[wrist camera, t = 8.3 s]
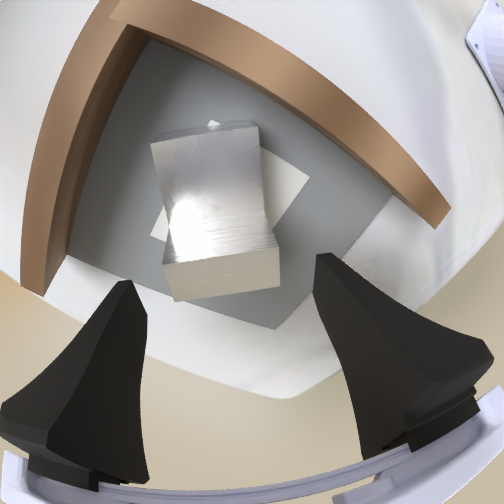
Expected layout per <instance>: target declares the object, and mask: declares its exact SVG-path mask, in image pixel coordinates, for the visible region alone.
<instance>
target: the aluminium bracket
mask: <svg viewBox="0 0 504 504" xmlns="http://www.w3.org/2000/svg"><path fill="white" fill-rule="evenodd" d="M150 146H151V150H152V155H153V160H154V165H155V169H156V174H157V178H158V182H159V187H160V191H161V195H162V199H163V203H164V207H165V211H166V215H167V219H168V223H169V230H168V235H167V240H166V245H165V249H164V255H163V260H162V268H163V271H164V274H165V277H166V280H167V282H168V285H169V288H170V291H171V293H172V296H173V299H174V301H175V302H179V301H186V300H194V299H201V298H208V297H215V296H222V295H228V294H235V293H241V292H248V291H254V290H260V289H266V288H272V287H278V286H280V265H279V246H278V244H277V241H276V239H275V236H274V234H273V231H272V229H271V226H270V224H269V221H268V219H267V216H266V214H265V211H264V197H263V183H262V170H261V157H260V144H259V132H258V126H257V125H256V124H255V123H254V122H252V121H251V120H250V121H240V122H232V123H224V124H217V125H210V126H204V127H197V128H192V129H186V130H180V131H175V132H170V133H165V134H161V135H158V136H157V137H156V138H155V139H154V140H153V141H152V142H151V144H150Z"/></svg>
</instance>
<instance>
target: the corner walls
mask: <svg viewBox="0 0 504 504" xmlns="http://www.w3.org/2000/svg"><path fill="white" fill-rule="evenodd" d="M150 39H152V40H154V41H157V42H160V43H162V44H164V45H167V46H169V47H172V48H174V49H176V50H179V51H181V52H183V53H185V54H188V55H190V56H192V57H194V58H196V59H198V60H200V61H203V62H205V63H207V64H209V65H211V66H213V67H215V68H217V69H218V70H220V71H222V72H224V73H226V74H228V75H230V76H232V77H234V78H235V79H237V80H239V81H241V82H243V83H244V84H246V85H248V86H250V87H251V88H253V89H255V90H256V91H258V92H260V93H261V94H263V95H265V96H266V97H268V98H270V99H271V100H273V101H274V102H276V103H277V104H279V105H281V106H282V107H284V108H285V109H287V110H288V111H290V112H291V113H293V114H294V115H296V116H297V117H299V118H300V119H302V120H303V121H304V122H306V123H307V124H309V125H310V126H312V127H313V128H314V129H316V130H317V131H319V132H320V133H321V134H323V135H324V136H325V137H327V138H328V139H329V140H331V141H332V142H333V143H335V144H336V145H337V146H338V147H340V148H341V149H342V150H344V151H345V152H346V153H347V154H349V155H350V156H351V157H352V158H353V159H355V160H356V161H357V162H358V163H360V164H361V165H362V166H363V167H364V168H365V169H367V170H368V171H369V172H370V173H371V174H372V175H374V176H375V177H376V178H377V179H378V180H379V181H380V182H381V183H383V184H384V185H385V186H386V187H387V188H388V189H389V190H390V191H391V192H392V193H393V194H394V195H395V196H396V197H398V198H399V199H400V200H401V201H403V202H404V203H405V204H406V205H407V206H409V207H410V208H411V209H412V210H413V211H415V212H416V213H417V214H418V215H419V216H420V217H422V218H423V219H424V220H425V221H426V222H427V223H428V224H430V225H431V226H432V227H433V228H434V229H436V228H437V226H438V225H439V224H440V223H441V221H442V220H443V219H444V217H445V216H446V215H447V213H448V212H449V210H450V209H451V206H450V205H449V204H448V202H447V201H446V200H445V198H444V197H443V196H442V194H441V193H440V192H439V190H438V189H437V188H436V186H435V185H434V184H433V183H432V181H431V180H430V179H429V178H428V176H427V175H426V174H425V173H424V172H423V170H422V169H421V168H420V167H419V166H418V165H417V163H416V162H415V161H414V160H413V159H412V158H411V157H410V155H409V154H408V153H407V152H406V151H405V150H404V149H403V148H402V147H401V146H400V145H399V144H398V142H397V141H396V140H395V139H394V138H393V137H392V136H391V135H390V134H389V133H388V132H387V131H386V130H385V129H384V128H383V127H382V126H381V125H380V124H379V123H378V122H377V121H376V120H375V119H373V118H372V117H371V116H370V115H369V114H368V113H367V112H366V111H365V110H364V109H363V108H362V107H360V106H359V105H358V104H357V103H356V102H355V101H354V100H352V99H351V98H350V97H349V96H348V95H347V94H345V93H344V92H343V91H342V90H341V89H339V88H338V87H337V86H336V85H334V84H333V83H332V82H331V81H329V80H328V79H327V78H325V77H324V76H323V75H321V74H320V73H319V72H317V71H316V70H315V69H313V68H312V67H311V66H309V65H308V64H306V63H305V62H304V61H302V60H301V59H299V58H298V57H296V56H295V55H293V54H292V53H290V52H289V51H287V50H286V49H284V48H283V47H281V46H280V45H278V44H276V43H275V42H273V41H271V40H270V39H268V38H266V37H265V36H263V35H261V34H260V33H258V32H256V31H254V30H252V29H251V28H249V27H247V26H245V25H243V24H241V23H239V22H238V21H236V20H234V19H232V18H230V17H228V16H226V15H223V14H221V13H219V12H217V11H215V10H213V9H211V8H208V7H206V6H204V5H201V4H199V3H197V2H194V1H192V0H100V1H99V3H98V4H97V6H96V7H95V9H94V10H93V12H92V14H91V15H90V17H89V19H88V20H87V22H86V24H85V25H84V27H83V29H82V31H81V33H80V34H79V36H78V38H77V40H76V42H75V44H74V46H73V48H72V50H71V52H70V54H69V56H68V58H67V60H66V62H65V64H64V67H63V69H62V71H61V73H60V76H59V78H58V81H57V83H56V86H55V88H54V91H53V93H52V96H51V99H50V101H49V104H48V107H47V110H46V113H45V116H44V119H43V123H42V126H41V129H40V133H39V136H38V140H37V144H36V148H35V152H34V156H33V161H32V165H31V170H30V175H29V180H28V186H27V192H26V199H25V206H24V215H23V225H22V237H21V260H20V282H21V286H22V287H24V288H26V289H28V290H30V291H32V292H34V293H36V294H38V295H40V296H42V297H44V295H45V293H46V291H47V289H48V287H49V285H50V283H51V282H52V280H53V278H54V276H55V274H56V272H57V271H58V269H59V267H60V265H61V264H62V262H63V260H64V259H65V257H66V255H67V252H68V247H69V242H70V237H71V233H72V228H73V224H74V220H75V216H76V212H77V208H78V204H79V200H80V197H81V193H82V190H83V187H84V183H85V180H86V177H87V174H88V171H89V168H90V165H91V162H92V159H93V156H94V153H95V151H96V148H97V145H98V143H99V140H100V138H101V135H102V133H103V130H104V128H105V125H106V123H107V121H108V118H109V116H110V114H111V111H112V109H113V107H114V105H115V103H116V101H117V99H118V96H119V94H120V92H121V90H122V88H123V86H124V84H125V82H126V81H127V79H128V77H129V75H130V73H131V71H132V69H133V68H134V66H135V64H136V62H137V60H138V59H139V57H140V55H141V54H142V52H143V50H144V49H145V47H146V45H147V44H148V42H149V41H150Z"/></svg>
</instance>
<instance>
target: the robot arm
mask: <svg viewBox="0 0 504 504" xmlns="http://www.w3.org/2000/svg"><path fill="white" fill-rule="evenodd" d="M466 42H467V44H468V46H469V47H470V49H471V50H472V52H473V53H474V55H475V57H476V58H477V60H478V62H479V63H480V65H481V67H482V68H483V70H484V72H485V74H486V76H487V77H488V79H489V81H490V83H491V85H492V87H493V89H494V91H495V93H496V95H497V97H498V99H499V101H500V104H501V106H502V108H503V110H504V11H503V10H502V8H501V6H500V5H499V3H498V2H497V0H486V1H485V3H484V5H483V7H482V9H481V11H480V13H479V15H478V16H477V18H476V20H475V22H474V24H473V25H472V27H471V29H470V31H469V32H468V34H467V36H466ZM313 296H314V299H315V303H316V306H317V309H318V312H319V315H320V317H321V320H322V322H323V324H324V326H325V329H326V331H327V333H328V335H329V338H330V340H331V342H332V344H333V347H334V349H335V351H336V353H337V356H338V358H339V361H340V363H341V366H342V369H343V372H344V375H345V379H346V382H347V386H348V389H349V393H350V397H351V401H352V405H353V409H354V414H355V418H356V422H357V428H358V434H359V440H360V446H361V454H362V457H363V460H364V461H361V462H359V463H356V464H353V465H350V466H346V467H343V468H340V469H337V470H333V471H330V472H326V473H323V474H319V475H315V476H311V477H307V478H302V479H298V480H293V481H288V482H282V483H277V484H271V485H264V486H257V487H248V488H239V489H227V490H207V491H178V490H177V491H176V490H158V489H146V488H137V487H128V486H121V485H120V483H123V484H129V483H137V484H145V483H146V482H148V480H149V479H150V478H149V474H148V470H147V465H146V459H145V454H144V447H143V439H142V430H141V417H140V416H141V415H140V385H141V377H142V369H143V362H144V355H145V348H146V341H147V316H148V315H147V313H146V311H145V309H144V307H143V304H142V302H141V300H140V298H139V296H138V293H137V291H136V289H135V286H134V284H133V282H132V280H125V281H118V282H117V283H116V284H115V286H114V287H113V288H112V289H111V291H110V292H109V293H108V295H107V296H106V297H105V299H104V300H103V301H102V303H101V304H100V305H99V307H98V308H97V309H96V311H95V312H94V313H93V315H92V316H91V317H90V319H89V320H88V321H87V322H86V324H85V325H84V326H83V328H82V329H81V330H80V331H79V333H78V334H77V335H76V336H75V338H74V339H73V340H72V341H71V342H70V344H69V345H68V346H67V347H66V348H65V349H64V350H63V351H62V353H61V354H60V355H59V356H58V357H57V358H56V359H55V360H54V361H53V362H52V363H51V364H50V365H49V366H48V367H47V368H46V369H45V370H44V371H43V372H42V373H41V374H39V375H38V376H37V377H36V378H35V379H34V380H33V381H31V382H30V383H29V384H28V385H27V386H25V387H24V388H23V389H22V390H20V391H19V392H17V393H16V394H15V395H13V396H12V397H10V398H9V399H7V400H6V401H5V402H3V403H2V405H1V409H0V436H1V437H2V438H3V439H5V440H7V441H8V442H10V443H12V444H13V445H15V446H16V447H18V448H20V449H21V450H23V451H25V452H27V453H29V459H27V458H24V457H22V456H20V455H17V454H15V453H13V452H10V451H8V450H5V452H4V459H3V468H2V478H1V479H2V480H1V500H2V501H4V502H5V503H7V504H266V503H272V502H279V501H284V500H289V499H295V498H299V497H304V496H308V495H312V494H316V493H320V492H324V491H327V490H331V489H335V488H338V487H341V486H345V485H348V484H351V483H354V482H357V481H359V480H362V479H365V478H367V477H370V476H372V475H375V474H377V475H376V476H375V477H374V480H373V482H372V483H370V484H367V485H364V486H361V487H358V488H355V489H353V490H349V491H347V492H343V493H340V494H337V495H334V496H333V497H332V500H333V504H442V503H444V502H445V501H446V500H448V499H449V498H450V497H451V496H453V495H454V494H455V493H456V492H458V491H459V490H460V489H461V488H462V487H464V486H465V485H466V484H467V483H468V482H469V481H470V480H472V479H473V478H474V477H475V476H476V475H477V474H478V473H479V472H480V471H481V470H482V469H483V468H484V467H485V466H486V465H487V464H488V463H490V462H491V461H492V460H493V459H494V458H495V457H496V456H497V455H498V454H499V453H500V452H501V451H502V449H504V392H503V390H502V388H501V386H500V385H499V384H498V385H496V386H495V387H494V388H492V389H491V390H490V391H488V392H487V393H486V394H484V395H483V396H482V397H480V398H479V399H478V400H475V398H474V395H475V394H476V392H477V391H476V389H475V387H474V384H475V383H476V382H477V381H478V380H479V379H480V378H481V377H482V376H483V375H484V374H485V373H486V372H487V370H488V369H489V368H490V367H491V365H492V364H493V361H494V357H493V355H492V353H491V352H490V350H489V349H488V347H487V346H486V344H485V342H484V341H483V340H482V339H478V338H475V337H472V336H469V335H465V334H462V333H459V332H457V331H454V330H451V329H449V328H446V327H444V326H442V325H440V324H437V323H435V322H433V321H431V320H429V319H427V318H425V317H423V316H420V315H419V314H417V313H415V312H413V311H412V310H410V309H408V308H407V307H405V306H403V305H402V304H400V303H398V302H397V301H395V300H394V299H392V298H390V297H389V296H388V295H386V294H385V293H383V292H382V291H380V290H379V289H378V288H376V287H375V286H373V285H372V284H371V283H369V282H368V281H367V280H366V279H364V278H363V277H362V276H360V275H359V274H358V273H357V272H355V271H354V270H353V269H352V268H350V267H349V266H348V265H347V264H345V263H344V262H343V261H342V260H340V259H339V258H338V257H337V256H335V255H334V254H333V253H331V252H328V253H322V254H316V262H315V273H314V283H313Z"/></svg>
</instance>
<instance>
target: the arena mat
mask: <svg viewBox="0 0 504 504" xmlns="http://www.w3.org/2000/svg"><path fill="white" fill-rule="evenodd" d="M250 120H251V121H252V122H254V123H255V124H256V125H257V126H258V132H259V144H260V157H261V170H262V183H263V197H264V211H265V214H266V216H267V219H268V221H269V224H270V226H271V229H272V231H273V234H274V236H275V239H276V241H277V244H278V246H279V265H280V286H278V287H272V288H266V289H260V290H254V291H248V292H241V293H235V294H228V295H222V296H215V297H208V298H201V299H194V300H186V301H185V302H188V303H191V304H194V305H197V306H200V307H203V308H206V309H209V310H212V311H215V312H218V313H221V314H224V315H227V316H230V317H234V318H237V319H240V320H243V321H246V322H250V323H253V324H256V325H260V326H263V327H267V328H270V329H274V330H275V329H276V328H277V327H278V326H279V325H280V324H281V323H282V322H283V321H284V320H285V319H286V318H287V317H288V316H289V315H290V314H291V313H292V312H293V310H294V309H295V308H296V307H297V306H298V305H299V304H300V303H301V302H302V301H303V300H304V299H305V298H306V297H307V295H308V294H309V293H310V292H311V291H312V290H313V283H314V273H315V262H316V254H322V253H328V252H331V253H333V254H334V255H335V256H337V257H338V258H339V259H340V258H341V257H342V256H343V255H344V253H345V252H346V251H347V250H348V249H349V248H350V246H351V245H352V244H353V243H354V242H355V240H356V239H357V238H358V237H359V236H360V234H361V233H362V232H363V231H364V229H365V228H366V227H367V226H368V224H369V223H370V222H371V221H372V219H373V218H374V217H375V216H376V214H377V213H378V212H379V211H380V209H381V208H382V207H383V206H384V204H385V203H386V202H387V200H388V199H389V198H390V196H391V195H392V194H393V193H392V192H391V191H390V190H389V189H388V188H387V187H386V186H385V185H384V184H383V183H381V182H380V181H379V180H378V179H377V178H376V177H375V176H374V175H372V174H371V173H370V172H369V171H368V170H367V169H365V168H364V167H363V166H362V165H361V164H360V163H358V162H357V161H356V160H355V159H353V158H352V157H351V156H350V155H349V154H347V153H346V152H345V151H344V150H342V149H341V148H340V147H338V146H337V145H336V144H335V143H333V142H332V141H331V140H329V139H328V138H327V137H325V136H324V135H323V134H321V133H320V132H319V131H317V130H316V129H314V128H313V127H312V126H310V125H309V124H307V123H306V122H304V121H303V120H302V119H300V118H299V117H297V116H296V115H294V114H293V113H291V112H290V111H288V110H287V109H285V108H284V107H282V106H281V105H279V104H277V103H276V102H274V101H273V100H271V99H270V98H268V97H266V96H265V95H263V94H261V93H260V92H258V91H256V90H255V89H253V88H251V87H250V86H248V85H246V84H244V83H243V82H241V81H239V80H237V79H235V78H234V77H232V76H230V75H228V74H226V73H224V72H222V71H220V70H218V69H217V68H215V67H213V66H211V65H209V64H207V63H205V62H203V61H200V60H198V59H196V58H194V57H192V56H190V55H188V54H185V53H183V52H181V51H179V50H176V49H174V48H172V47H169V46H167V45H164V44H162V43H160V42H157V41H154V40H152V39H150V41H149V42H148V44H147V45H146V47H145V49H144V50H143V52H142V54H141V55H140V57H139V59H138V60H137V62H136V64H135V66H134V68H133V69H132V71H131V73H130V75H129V77H128V79H127V81H126V82H125V84H124V86H123V88H122V90H121V92H120V94H119V96H118V99H117V101H116V103H115V105H114V107H113V109H112V111H111V114H110V116H109V118H108V121H107V123H106V125H105V128H104V130H103V133H102V135H101V138H100V140H99V143H98V145H97V148H96V151H95V153H94V156H93V159H92V162H91V165H90V168H89V171H88V174H87V177H86V180H85V183H84V187H83V190H82V193H81V197H80V200H79V204H78V208H77V212H76V216H75V220H74V224H73V228H72V233H71V237H70V242H69V247H68V252H67V254H68V255H70V256H72V257H75V258H77V259H79V260H81V261H84V262H86V263H88V264H90V265H93V266H95V267H97V268H100V269H102V270H105V271H107V272H109V273H112V274H114V275H117V276H119V277H122V278H124V279H127V280H132V282H134V283H137V284H139V285H142V286H144V287H147V288H150V289H152V290H155V291H158V292H160V293H163V294H166V295H169V296H171V297H173V296H172V293H171V291H170V288H169V285H168V282H167V280H166V277H165V274H164V271H163V268H162V260H163V255H164V249H165V245H166V240H167V235H168V230H169V223H168V219H167V215H166V211H165V207H164V203H163V199H162V195H161V191H160V187H159V182H158V178H157V174H156V169H155V165H154V160H153V155H152V150H151V146H150V144H151V142H152V141H153V140H154V139H155V138H156V137H157V136H158V135H161V134H165V133H170V132H175V131H180V130H186V129H192V128H197V127H204V126H210V125H217V124H224V123H232V122H240V121H250Z"/></svg>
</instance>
